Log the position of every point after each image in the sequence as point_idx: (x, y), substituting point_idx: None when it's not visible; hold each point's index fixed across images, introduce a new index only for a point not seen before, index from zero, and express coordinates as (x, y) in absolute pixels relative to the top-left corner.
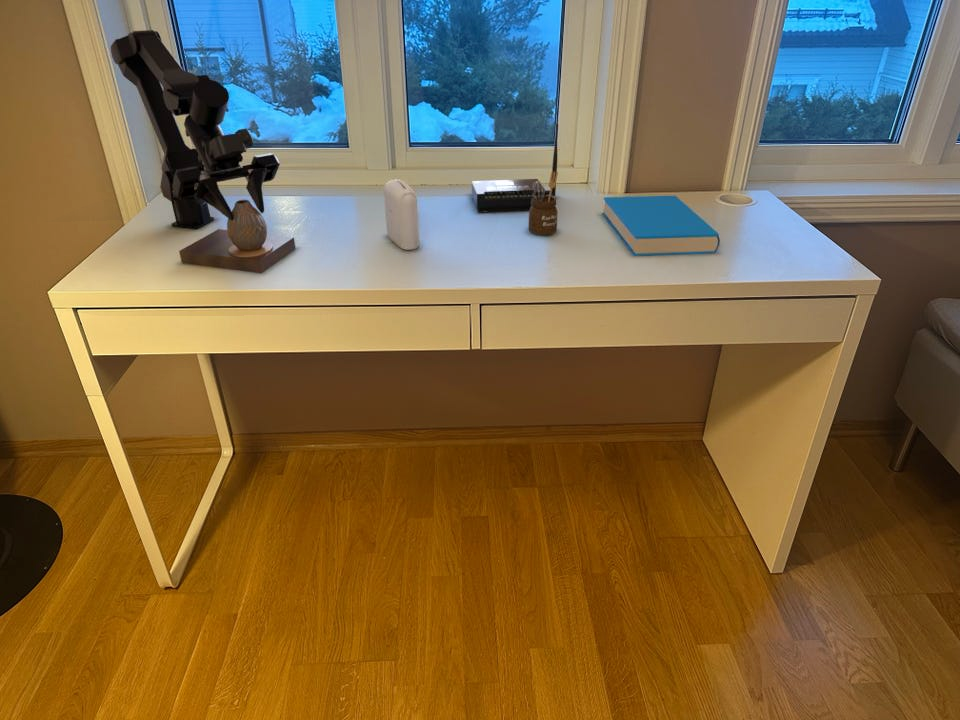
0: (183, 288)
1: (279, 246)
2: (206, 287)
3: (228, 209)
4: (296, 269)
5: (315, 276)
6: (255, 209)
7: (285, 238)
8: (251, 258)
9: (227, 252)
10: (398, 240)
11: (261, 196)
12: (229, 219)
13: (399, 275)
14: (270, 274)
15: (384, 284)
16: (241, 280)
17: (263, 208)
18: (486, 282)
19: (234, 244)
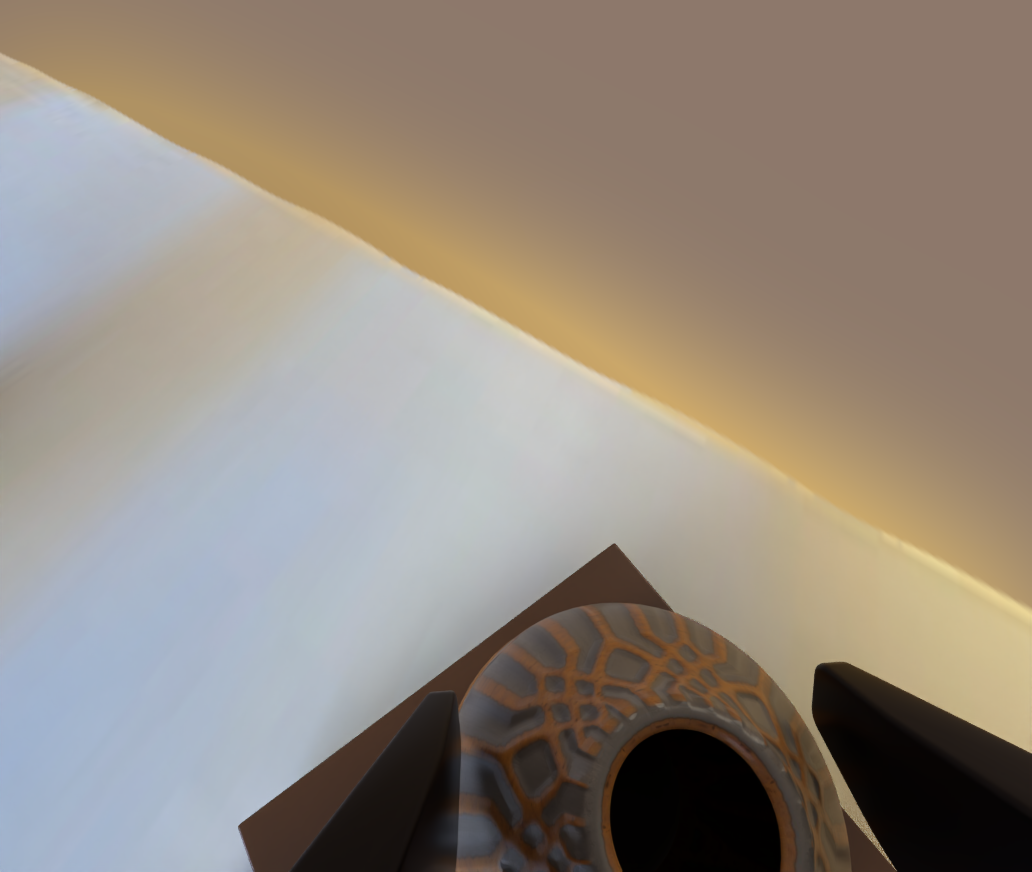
0: (1010, 628)
1: (420, 692)
2: (887, 568)
3: (918, 712)
4: (447, 511)
5: (425, 403)
6: (526, 727)
7: (297, 843)
8: (644, 598)
9: None
10: None
11: (347, 816)
12: (841, 809)
13: (213, 267)
14: (571, 530)
15: (298, 244)
16: (713, 546)
17: (430, 699)
18: (112, 143)
19: (736, 765)
